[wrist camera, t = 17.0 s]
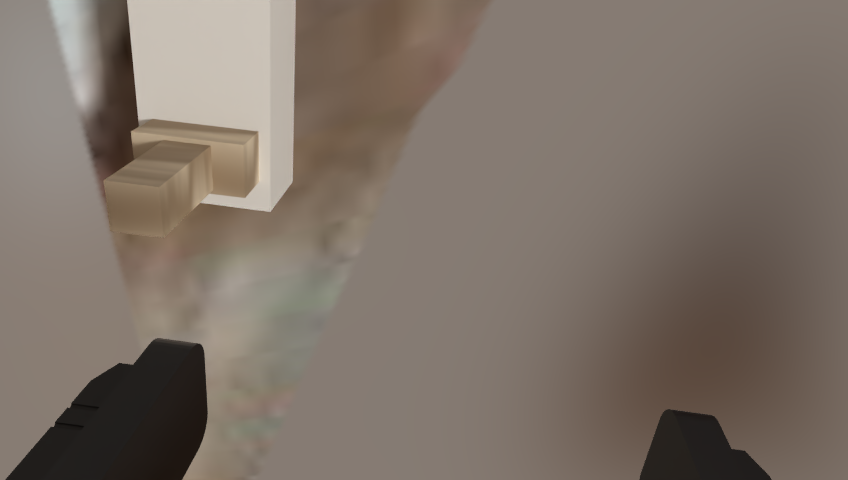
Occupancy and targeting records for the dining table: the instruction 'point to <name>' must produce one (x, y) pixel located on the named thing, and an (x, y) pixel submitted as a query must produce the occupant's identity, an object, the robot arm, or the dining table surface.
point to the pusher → (178, 174)
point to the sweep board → (221, 76)
